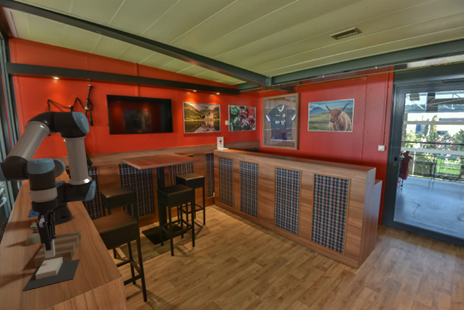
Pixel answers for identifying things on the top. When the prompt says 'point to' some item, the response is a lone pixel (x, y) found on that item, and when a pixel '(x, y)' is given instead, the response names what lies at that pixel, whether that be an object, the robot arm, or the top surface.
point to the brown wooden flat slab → (61, 247)
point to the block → (49, 268)
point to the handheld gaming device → (33, 213)
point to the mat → (63, 275)
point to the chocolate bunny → (33, 235)
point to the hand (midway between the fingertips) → (50, 256)
